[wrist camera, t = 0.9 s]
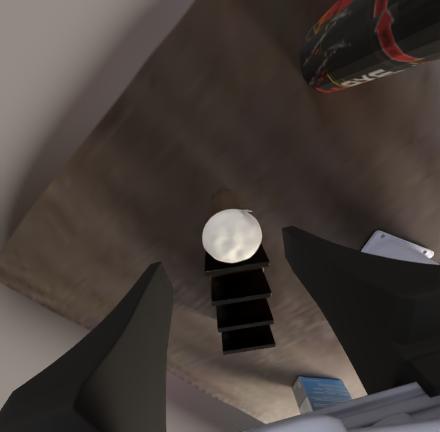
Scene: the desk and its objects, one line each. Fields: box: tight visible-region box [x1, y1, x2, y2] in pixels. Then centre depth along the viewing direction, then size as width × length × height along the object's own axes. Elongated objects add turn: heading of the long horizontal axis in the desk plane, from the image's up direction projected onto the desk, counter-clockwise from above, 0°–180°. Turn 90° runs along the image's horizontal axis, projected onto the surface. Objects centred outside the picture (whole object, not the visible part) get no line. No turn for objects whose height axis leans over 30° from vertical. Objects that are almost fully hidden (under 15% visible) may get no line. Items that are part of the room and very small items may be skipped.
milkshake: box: [202, 190, 262, 263], centre depth 18 cm, size 4×5×10 cm
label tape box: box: [292, 376, 352, 414], centre depth 32 cm, size 9×4×12 cm, turn 76°
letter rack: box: [204, 242, 275, 355], centre depth 25 cm, size 13×7×5 cm, turn 9°
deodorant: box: [301, 0, 440, 93], centre depth 11 cm, size 6×6×15 cm
